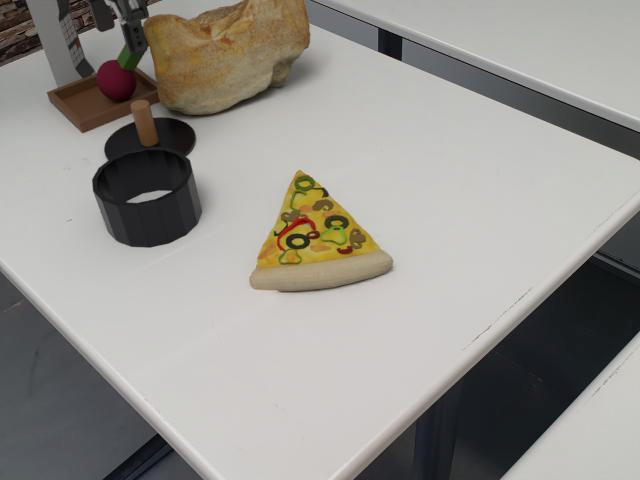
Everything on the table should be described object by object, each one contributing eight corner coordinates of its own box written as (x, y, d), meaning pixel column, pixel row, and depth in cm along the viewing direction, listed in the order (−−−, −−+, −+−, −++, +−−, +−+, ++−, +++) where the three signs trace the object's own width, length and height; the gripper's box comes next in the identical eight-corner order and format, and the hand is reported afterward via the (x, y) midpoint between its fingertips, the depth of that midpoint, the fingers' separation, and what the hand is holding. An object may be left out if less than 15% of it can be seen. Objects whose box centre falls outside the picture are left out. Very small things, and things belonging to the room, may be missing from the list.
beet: (99, 104, 98) (137, 38, 92) (83, 78, 100) (119, 11, 94) (131, 111, 103) (170, 49, 97) (116, 86, 104) (152, 23, 98)
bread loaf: (282, 50, 112) (267, -51, 102) (325, 86, 101) (312, -23, 91) (144, 90, 107) (114, -12, 97) (173, 133, 95) (141, 23, 85)
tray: (83, 137, 96) (79, 123, 95) (51, 105, 103) (46, 92, 101) (169, 102, 102) (165, 88, 100) (132, 73, 108) (129, 60, 106)
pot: (135, 264, 78) (119, 219, 73) (93, 217, 84) (75, 172, 79) (219, 222, 82) (210, 176, 77) (173, 180, 88) (161, 135, 83)
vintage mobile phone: (88, 90, 105) (27, -94, 87) (58, 89, 106) (-9, -94, 88) (97, 78, 108) (40, -104, 89) (68, 77, 108) (5, -103, 90)
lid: (132, 187, 88) (117, 142, 83) (91, 147, 95) (75, 103, 90) (213, 150, 92) (204, 105, 88) (169, 114, 99) (158, 71, 94)
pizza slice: (252, 301, 73) (248, 281, 71) (239, 185, 87) (236, 165, 84) (396, 281, 74) (397, 260, 72) (361, 169, 88) (360, 149, 85)
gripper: (17, -119, 73) (68, 32, 85) (72, -89, 65) (120, 73, 77) (83, -136, 76) (123, 13, 88) (143, -109, 68) (179, 50, 80)
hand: (122, 41), depth 82 cm, fingers open, 8 cm apart
